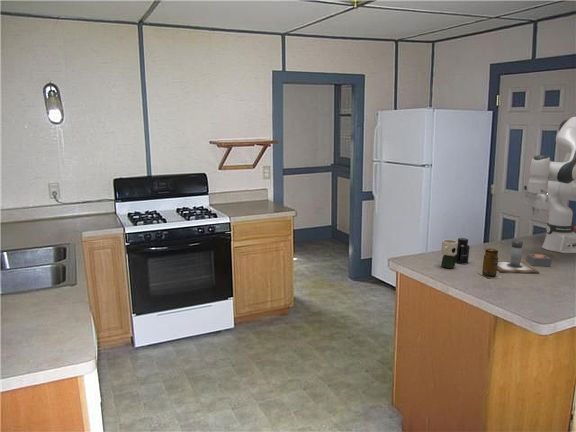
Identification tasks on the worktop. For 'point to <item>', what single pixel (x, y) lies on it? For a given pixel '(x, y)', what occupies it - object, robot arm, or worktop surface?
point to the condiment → (490, 264)
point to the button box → (539, 260)
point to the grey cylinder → (516, 253)
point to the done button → (539, 256)
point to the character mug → (449, 253)
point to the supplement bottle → (462, 251)
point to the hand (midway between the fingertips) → (534, 215)
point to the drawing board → (515, 268)
